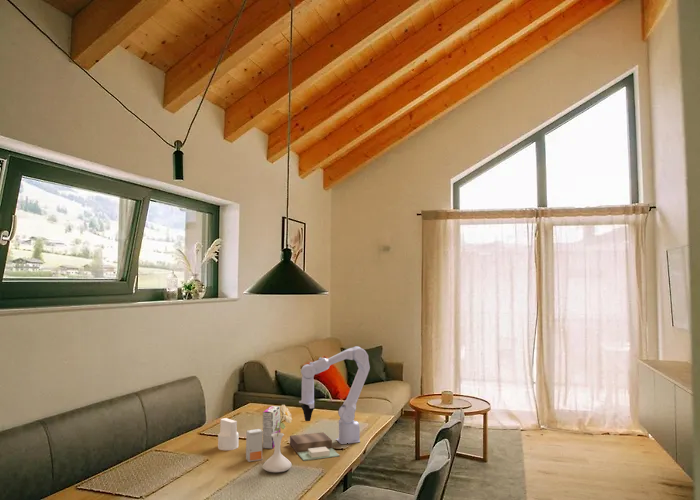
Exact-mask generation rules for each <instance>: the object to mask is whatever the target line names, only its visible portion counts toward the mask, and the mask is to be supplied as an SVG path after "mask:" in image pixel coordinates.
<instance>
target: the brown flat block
mask: <svg viewBox="0 0 700 500" xmlns="http://www.w3.org/2000/svg"><path fill="white" fill-rule="evenodd" d="M289 446H290V447H292V449H293V450H294V451H295V452H296V453H297V452H304V451H308V449H309V448H318V447H326V448H327V449H330V448H333V439H332V438H330V437H329V436H328V435H327V434H326V433H324V431H323V432H314V433H305V434H304V433H303V434H296V435H293V434H292V435H290V436H289Z"/></svg>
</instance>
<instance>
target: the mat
mask: <svg viewBox="0 0 700 500" xmlns="http://www.w3.org/2000/svg"><path fill="white" fill-rule="evenodd" d="M328 450H330V455H329V456H321V457H313V458H312V457H311V456H310V455H309V454H308V451H304V452H296V454H297V455H298V456H299V457H300V458H301V460H302V461H305V462H306V461H313V460H320V459H327V458H329V459H330V458H335V457H340V456H341V455H340V454H339V453H338V452H337V451H336V450H335V449H334V448H333V447H332V448H330V449H328Z"/></svg>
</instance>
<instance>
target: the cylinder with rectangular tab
mask: <svg viewBox="0 0 700 500" xmlns="http://www.w3.org/2000/svg"><path fill="white" fill-rule="evenodd" d="M219 424H220V426H219V427H220V429H219V431H220V432H219V433H218V434H217V449H218V450H219V451H233V450H236V449H238V448H239V431H237V430H238V428H237V427H238V426H237V425H238V421H237V420H233V419H231V418H227V417H225V418H220V423H219Z"/></svg>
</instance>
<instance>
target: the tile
mask: <svg viewBox="0 0 700 500" xmlns="http://www.w3.org/2000/svg"><path fill="white" fill-rule="evenodd" d="M308 454H309V455H310V456H311V457H312V458H313V457H321V456H329V455H330V450H328V449H327V448H326V447H318V448H309V449H308Z"/></svg>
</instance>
